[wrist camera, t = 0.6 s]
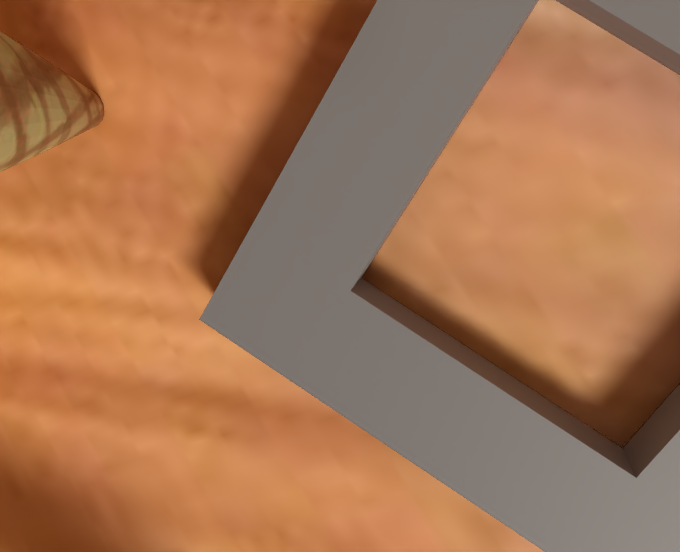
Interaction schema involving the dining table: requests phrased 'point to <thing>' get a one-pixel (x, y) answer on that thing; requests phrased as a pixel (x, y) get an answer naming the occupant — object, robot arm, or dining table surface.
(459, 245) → the dining table surface
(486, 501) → the grey flat square frame
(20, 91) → the ice cream cone
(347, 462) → the dining table surface
